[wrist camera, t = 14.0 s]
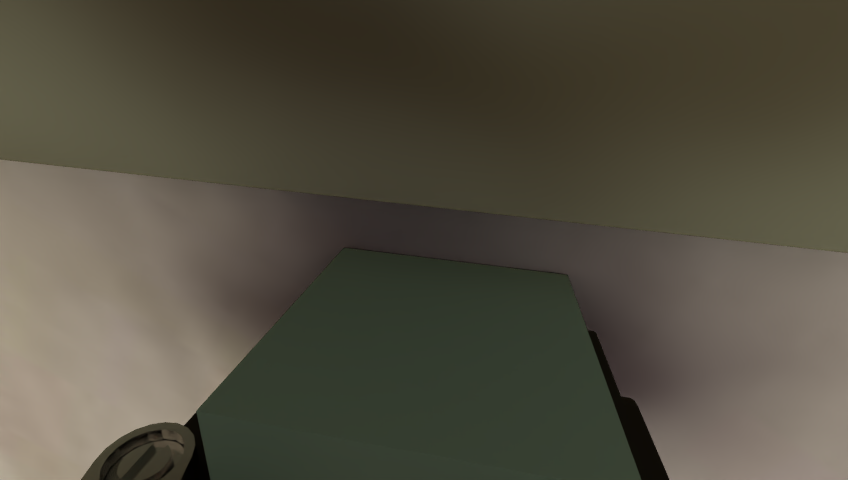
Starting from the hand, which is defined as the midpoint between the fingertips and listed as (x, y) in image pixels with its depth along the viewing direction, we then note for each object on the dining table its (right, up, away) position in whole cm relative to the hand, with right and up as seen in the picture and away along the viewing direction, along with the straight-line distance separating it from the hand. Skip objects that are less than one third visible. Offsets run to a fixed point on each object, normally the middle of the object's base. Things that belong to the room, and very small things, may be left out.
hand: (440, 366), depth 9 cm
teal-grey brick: (0, 0, 0) cm, 1 cm away
